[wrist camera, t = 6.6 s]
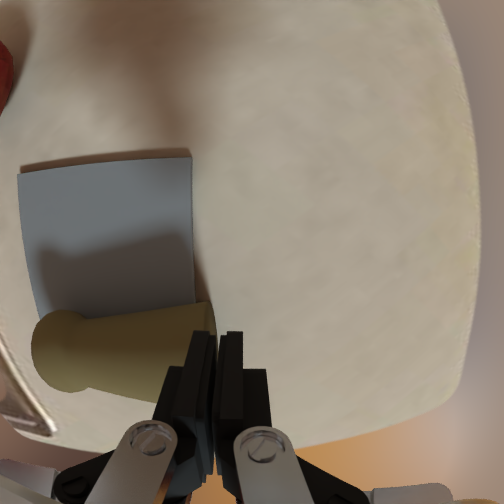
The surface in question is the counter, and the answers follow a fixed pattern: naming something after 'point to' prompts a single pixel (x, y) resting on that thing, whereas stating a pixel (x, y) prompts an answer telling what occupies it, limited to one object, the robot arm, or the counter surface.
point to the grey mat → (109, 236)
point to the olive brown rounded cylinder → (117, 348)
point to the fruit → (5, 75)
